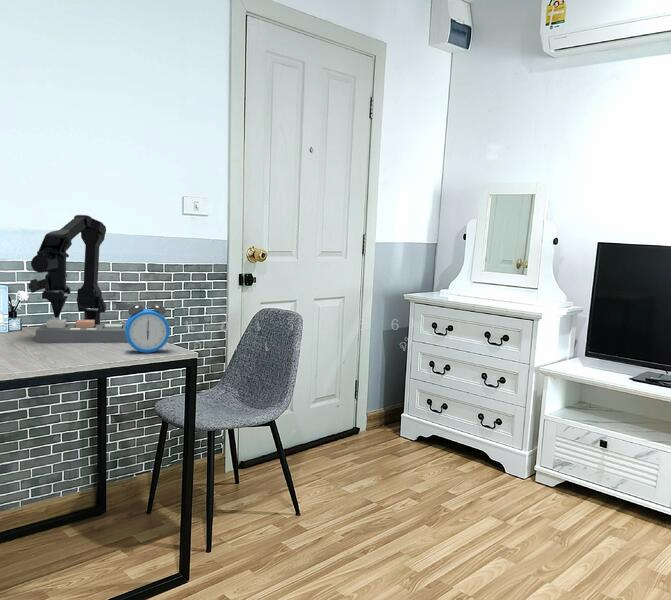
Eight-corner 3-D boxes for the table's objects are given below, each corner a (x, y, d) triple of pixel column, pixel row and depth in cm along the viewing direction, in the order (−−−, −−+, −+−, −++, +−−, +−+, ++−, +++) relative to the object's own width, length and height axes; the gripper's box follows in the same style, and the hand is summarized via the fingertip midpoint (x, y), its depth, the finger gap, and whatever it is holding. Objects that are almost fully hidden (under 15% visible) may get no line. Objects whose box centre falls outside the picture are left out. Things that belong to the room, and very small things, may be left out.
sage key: (105, 333, 215) (105, 323, 214) (121, 334, 216) (122, 324, 216) (104, 336, 209) (104, 326, 209) (121, 336, 211) (121, 326, 211)
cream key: (49, 329, 209) (49, 319, 209) (66, 329, 211) (66, 319, 211) (46, 332, 204) (46, 321, 204) (64, 332, 206) (64, 321, 205)
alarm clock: (125, 354, 188) (126, 305, 186) (124, 350, 193) (124, 302, 192) (169, 353, 193) (170, 305, 191) (167, 349, 198) (168, 303, 197)
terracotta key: (77, 329, 212) (77, 319, 212) (94, 329, 213) (94, 319, 213) (75, 332, 207) (75, 321, 206) (92, 332, 208) (93, 322, 208)
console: (42, 335, 211) (42, 323, 211) (129, 336, 219) (129, 324, 219) (35, 342, 199) (35, 329, 198) (127, 342, 207) (127, 330, 206)
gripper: (35, 268, 212) (35, 313, 214) (24, 272, 194) (24, 321, 196) (70, 269, 215) (70, 314, 217) (62, 273, 197) (62, 321, 199)
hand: (56, 317), depth 207 cm, fingers closed
